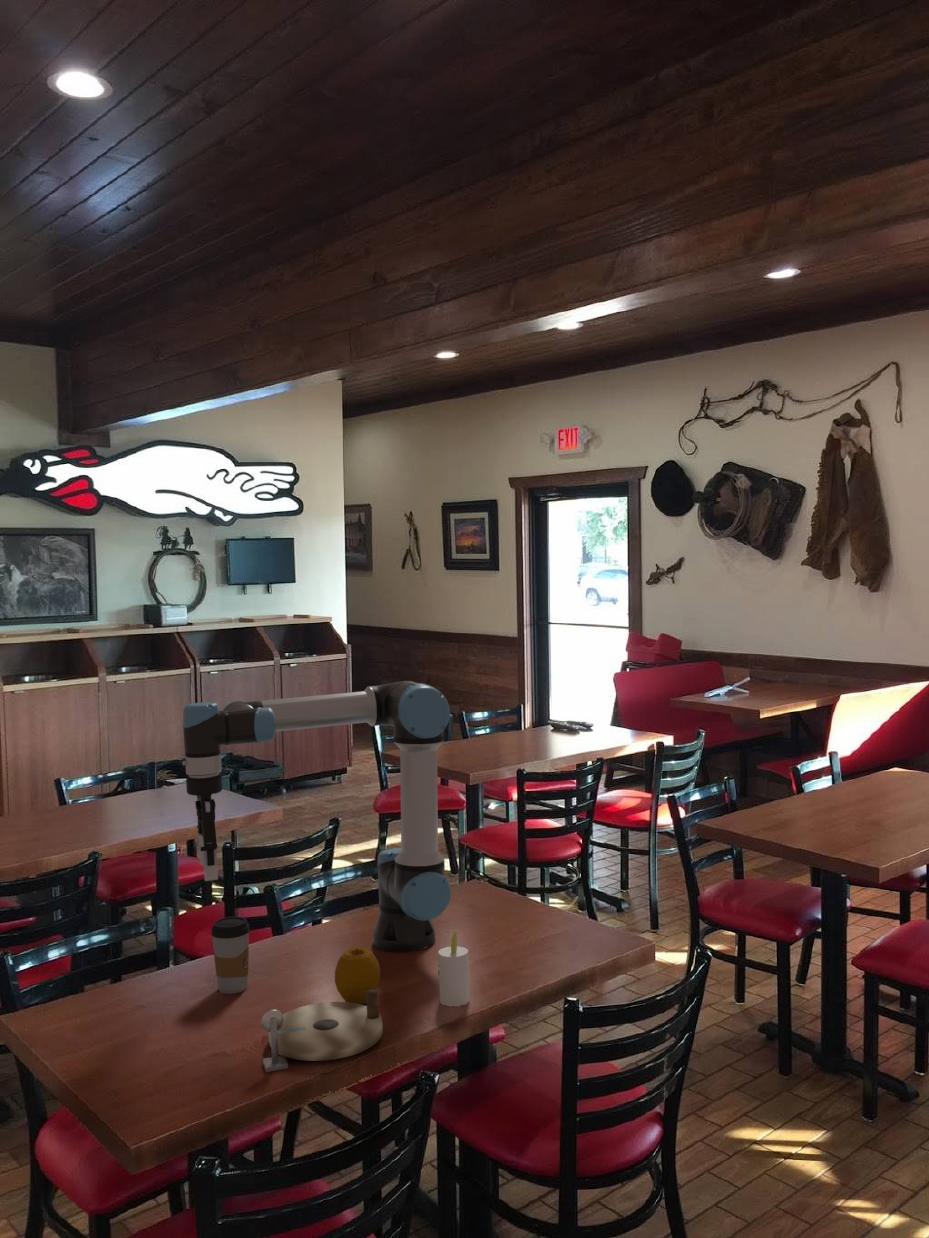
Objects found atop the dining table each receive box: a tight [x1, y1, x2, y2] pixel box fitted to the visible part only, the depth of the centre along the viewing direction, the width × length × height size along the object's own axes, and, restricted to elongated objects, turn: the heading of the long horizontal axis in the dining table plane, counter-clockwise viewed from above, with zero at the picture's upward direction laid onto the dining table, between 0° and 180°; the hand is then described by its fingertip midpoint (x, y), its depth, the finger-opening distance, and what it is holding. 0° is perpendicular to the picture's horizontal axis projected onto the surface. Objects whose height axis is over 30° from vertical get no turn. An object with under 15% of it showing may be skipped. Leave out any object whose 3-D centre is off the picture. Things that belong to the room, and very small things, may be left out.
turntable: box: [268, 989, 384, 1062], centre depth 206 cm, size 22×22×7 cm
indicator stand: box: [261, 1008, 289, 1073], centre depth 196 cm, size 4×4×10 cm
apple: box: [334, 946, 381, 1005], centre depth 223 cm, size 10×10×12 cm
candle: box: [437, 930, 471, 1008], centre depth 223 cm, size 6×6×15 cm
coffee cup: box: [211, 916, 250, 995], centre depth 234 cm, size 8×8×15 cm
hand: (208, 871), depth 229 cm, fingers open, 13 cm apart
